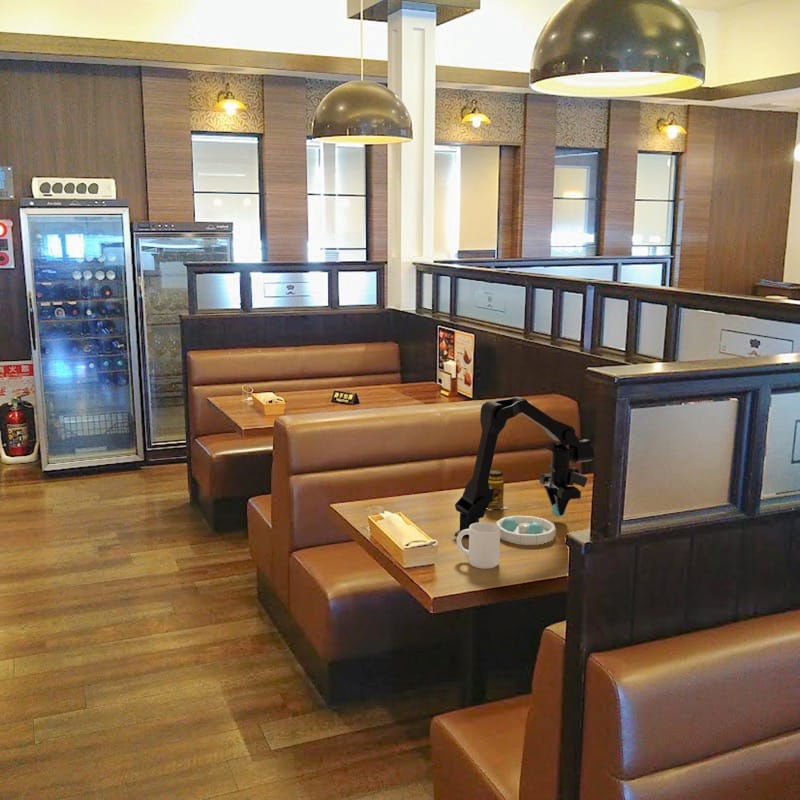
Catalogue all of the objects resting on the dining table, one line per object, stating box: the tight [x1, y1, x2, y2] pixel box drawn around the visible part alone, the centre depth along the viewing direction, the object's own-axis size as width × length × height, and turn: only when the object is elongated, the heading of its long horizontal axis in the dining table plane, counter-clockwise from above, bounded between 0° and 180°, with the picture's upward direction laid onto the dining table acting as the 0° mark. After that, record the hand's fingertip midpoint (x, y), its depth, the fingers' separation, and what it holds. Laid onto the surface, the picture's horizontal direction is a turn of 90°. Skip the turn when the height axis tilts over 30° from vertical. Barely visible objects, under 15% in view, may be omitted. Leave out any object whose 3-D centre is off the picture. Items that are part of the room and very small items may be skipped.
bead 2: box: [528, 523, 543, 534], centre depth 246 cm, size 4×4×4 cm
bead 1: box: [502, 516, 517, 532], centre depth 250 cm, size 4×4×4 cm
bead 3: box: [550, 503, 567, 518], centre depth 261 cm, size 4×4×4 cm
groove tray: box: [495, 515, 557, 546], centre depth 250 cm, size 17×17×3 cm
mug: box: [456, 521, 501, 570], centre depth 228 cm, size 12×8×10 cm
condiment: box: [487, 469, 509, 512], centre depth 275 cm, size 7×8×12 cm
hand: (558, 512), depth 262 cm, fingers closed on bead 3, 4 cm apart
